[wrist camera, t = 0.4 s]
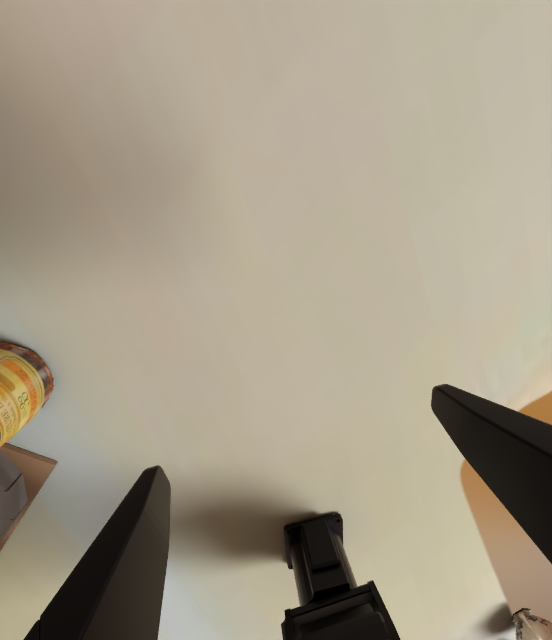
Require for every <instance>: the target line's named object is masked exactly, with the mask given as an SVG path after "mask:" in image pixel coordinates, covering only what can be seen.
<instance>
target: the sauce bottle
mask: <svg viewBox="0 0 552 640" xmlns="http://www.w3.org/2000/svg"><path fill="white" fill-rule="evenodd" d="M53 386H54V385H53V377H52V374H51V372H50V370H49V368H48V367H47V365H46V364H45V363H44V362H43V361H42V359H41V357H39V356H38V354H36V353H35V352H33V351H31V350H29V349H26V348H21V347H19V346H16V345H13V344H10V343H2V342H0V447H1V446H2V445H4V444H5V443H6V442H7V441H8V440H9V439H10V438H11V437H13V436H14V435H15V434H16V433H17V432H18V431H19V430H20V429H21V428H22V427H24V426H25V425H26V424H27V423H28V422H29V421H30V420H32V419H33V418H34V417H35V415H36V414H37V413H38V412H39V410H40V409H41V408H42V407H43V406H44V405H45V403H46V402H47V400H48V399H49V396H50V395H51V392H52V389H53Z"/></svg>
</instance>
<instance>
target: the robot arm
mask: <svg viewBox="0 0 552 640" xmlns="http://www.w3.org/2000/svg"><path fill="white" fill-rule="evenodd" d="M431 407H432V410H433V412H434V414H435V415H436V417H437V418H438V420H439V421H440V423H441V424H442V426H443V427H444V429H445V430H446V432H447V433H448V435H449V436H450V437H451V439H452V440H453V442H454V443H455V445H456V446H457V448H458V449H459V451H460V452H461V453H462V455H463V456H464V457H465V459H466V460H467V461H468V462H469V464H470V465H471V466H472V467H473V469H474V470H475V471H476V472H477V473H478V474H479V476H480V477H481V478H482V479H483V481H484V482H485V483H486V484H487V486H488V487H489V488H490V489H491V490H492V491H493V493H494V494H495V495H496V497H497V498H498V499H499V500H500V501H501V502H502V504H503V505H504V506H505V508H506V509H507V510H508V511H509V512H510V514H511V515H512V516H513V517H514V518H515V520H516V521H517V522H518V523H519V525H520V526H521V527H522V528H523V530H524V531H525V532H526V533H527V534H528V536H529V537H530V538H531V539H532V541H533V542H534V543H535V544H536V545H537V547H538V548H539V549H540V550H541V551H542V553H543V554H544V555H545V556H546V558H547V559H548V560H549V561H550V562H551V564H552V425H550V424H548V423H545V422H543V421H540V420H537V419H535V418H532V417H530V416H527V415H525V414H522V413H520V412H517V411H515V410H512V409H509V408H507V407H504V406H502V405H499V404H497V403H494V402H492V401H489V400H486V399H484V398H481V397H479V396H476V395H474V394H471V393H469V392H466V391H464V390H461V389H458V388H456V387H453V386H451V385H448V384H442V385H438V386H435V387H434V388H433V390H432V400H431ZM170 496H171V487H170V482H169V480H168V478H167V476H166V475H165V473H164V471H163V469H162V468H161V466H159V465H158V466H154V467H150V468H147V469H145V470H144V471H143V473H142V474H141V475H140V477H139V478H138V480H137V481H136V482H135V484H134V485H133V487H132V488H131V489H130V491H129V492H128V494H127V495H126V496H125V498H124V499H123V501H122V502H121V504H120V505H119V506H118V508H117V509H116V511H115V512H114V513H113V515H112V516H111V518H110V519H109V520H108V522H107V523H106V525H105V526H104V527H103V529H102V530H101V532H100V533H99V534H98V536H97V537H96V539H95V540H94V541H93V543H92V544H91V546H90V547H89V548H88V550H87V551H86V553H85V554H84V556H83V557H82V558H81V560H80V561H79V563H78V564H77V565H76V567H75V568H74V570H73V571H72V572H71V574H70V575H69V577H68V578H67V579H66V581H65V582H64V584H63V585H62V586H61V588H60V589H59V591H58V592H57V593H56V595H55V596H54V598H53V599H52V601H51V602H50V603H49V605H48V606H47V608H46V609H45V610H44V612H43V613H42V615H41V616H40V620H38V621H36V623H35V624H34V626H33V627H32V628H31V630H30V631H29V633H28V634H27V635H26V637H25V638H24V640H157V639H158V631H159V623H160V615H161V607H162V599H163V591H164V583H165V575H166V567H167V559H168V550H169V534H170ZM284 538H285V547H286V556H287V564H288V568H289V569H293V570H294V575H295V580H296V586H297V591H298V596H299V602H300V607H297V608H294V609H287V610H285V620H284V622H283V623H282V624H281V627H282V635H283V640H400V638H399V635H398V633H397V630H396V628H395V626H394V624H393V622H392V620H391V618H390V615H389V613H388V611H387V609H386V607H385V605H384V603H383V601H382V598H381V596H380V594H379V592H378V590H377V588H376V586H375V584H374V581H373V580H372V581H369V582H368V583H367V584H364V585H361V586H359V587H357V584H356V581H355V578H354V575H353V573H352V570H351V567H350V564H349V561H348V559H347V556H346V553H345V550H344V547H343V519H342V517H341V515H340V514H335V515H330V516H326V517H321V518H317V519H313V520H308V521H304V522H299V523H295V524H291V525H287V526H285V527H284Z"/></svg>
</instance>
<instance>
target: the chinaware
mask: <svg viewBox="0 0 552 640" xmlns="http://www.w3.org/2000/svg"><path fill="white" fill-rule="evenodd" d="M530 612H531V609H528V608H522V609H520V610H519V611H517V612H515V613H514V614H513V621H512V622H518V623H517V626H516V640H552V623H551V622H550V621H548V620H546V619H544V618H542V617H539V616H535V615H529V614H530Z"/></svg>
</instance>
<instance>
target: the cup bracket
mask: <svg viewBox="0 0 552 640" xmlns="http://www.w3.org/2000/svg"><path fill="white" fill-rule="evenodd" d="M56 464H57V461H54V460H51V459H49V458H46V457H43V456H40V455H37V454H35V453H32V452H29V451H26V450H24V449H21V448H18V447H15V446H12V445H10V444H7V443H5V444H4V445H2V446H1V447H0V550H1V549H2V547H3V546H4V544H5V543H6V541H7V540H8V538H9V536H10V535H11V533H12V532H13V530H14V529H15V527H16V526H17V524H18V523H19V521H20V519H21V518H22V516H23V515H24V513H25V512H26V510H27V509H28V507H29V506H30V504H31V502H32V501H33V499H34V498H35V496H36V495H37V493H38V492H39V490H40V489H41V487H42V485H43V484H44V482H45V481H46V479H47V478H48V476H49V475H50V473H51V472H52V470H53V468H54V467H55V465H56Z"/></svg>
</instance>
